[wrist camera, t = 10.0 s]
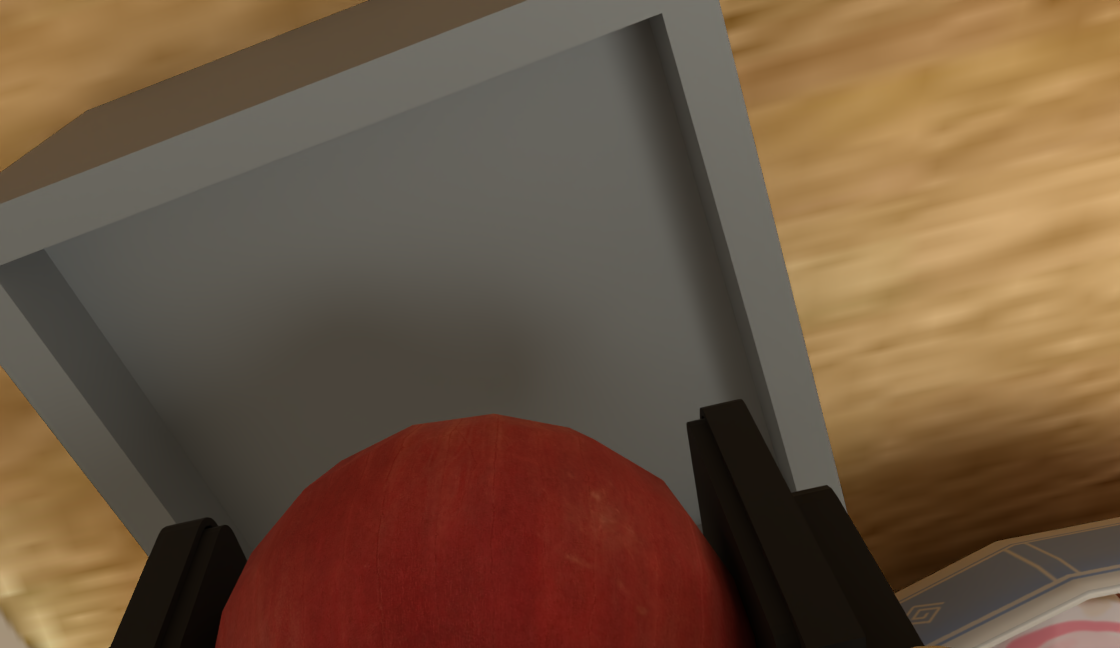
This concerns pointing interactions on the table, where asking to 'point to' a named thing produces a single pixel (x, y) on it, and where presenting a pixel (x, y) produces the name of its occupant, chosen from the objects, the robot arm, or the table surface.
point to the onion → (485, 551)
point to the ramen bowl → (1025, 593)
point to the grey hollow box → (404, 255)
